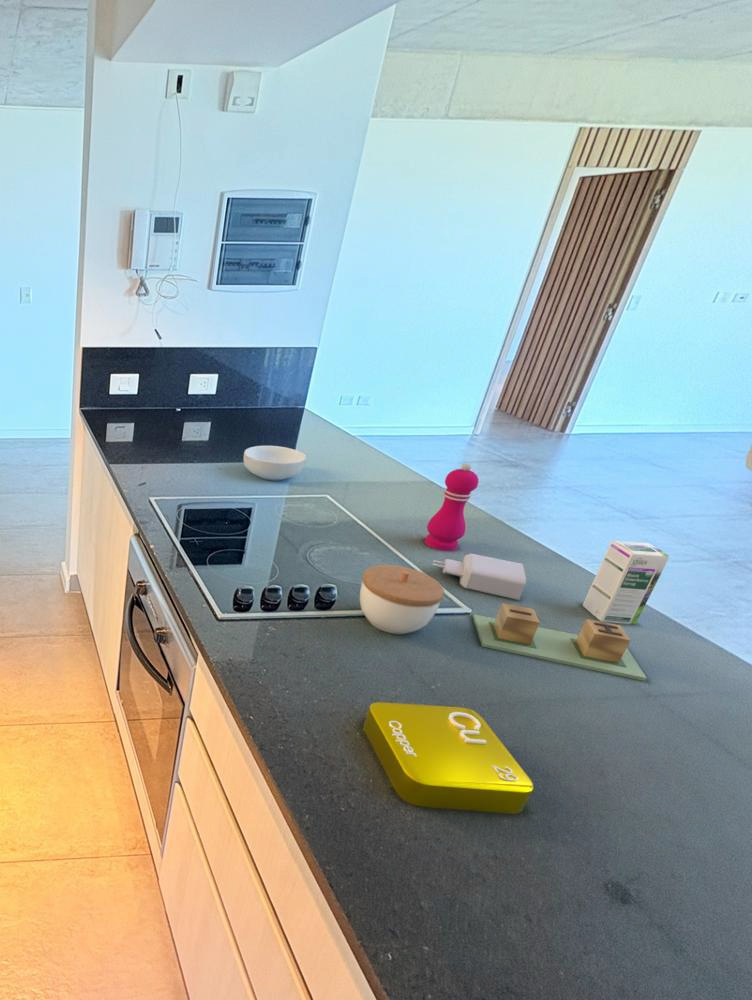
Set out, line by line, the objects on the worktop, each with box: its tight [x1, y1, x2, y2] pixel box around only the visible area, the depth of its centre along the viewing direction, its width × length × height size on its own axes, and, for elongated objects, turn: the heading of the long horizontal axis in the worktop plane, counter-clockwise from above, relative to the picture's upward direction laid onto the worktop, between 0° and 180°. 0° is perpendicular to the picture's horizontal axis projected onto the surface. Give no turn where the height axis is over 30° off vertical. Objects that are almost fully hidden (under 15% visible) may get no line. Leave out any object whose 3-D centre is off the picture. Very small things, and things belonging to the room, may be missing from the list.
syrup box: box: [582, 540, 670, 625], centre depth 112 cm, size 6×6×14 cm
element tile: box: [363, 701, 534, 815], centre depth 82 cm, size 15×15×5 cm
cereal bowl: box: [243, 445, 307, 481], centre depth 179 cm, size 17×17×7 cm
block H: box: [576, 618, 631, 663], centre depth 102 cm, size 5×5×5 cm
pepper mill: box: [424, 462, 479, 552], centre depth 136 cm, size 7×7×20 cm
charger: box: [432, 553, 527, 601], centre depth 125 cm, size 5×9×15 cm
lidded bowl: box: [359, 564, 445, 635], centre depth 110 cm, size 13×13×11 cm
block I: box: [493, 602, 541, 645], centre depth 107 cm, size 5×5×5 cm
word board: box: [472, 613, 647, 682], centre depth 106 cm, size 22×10×1 cm, turn 65°
